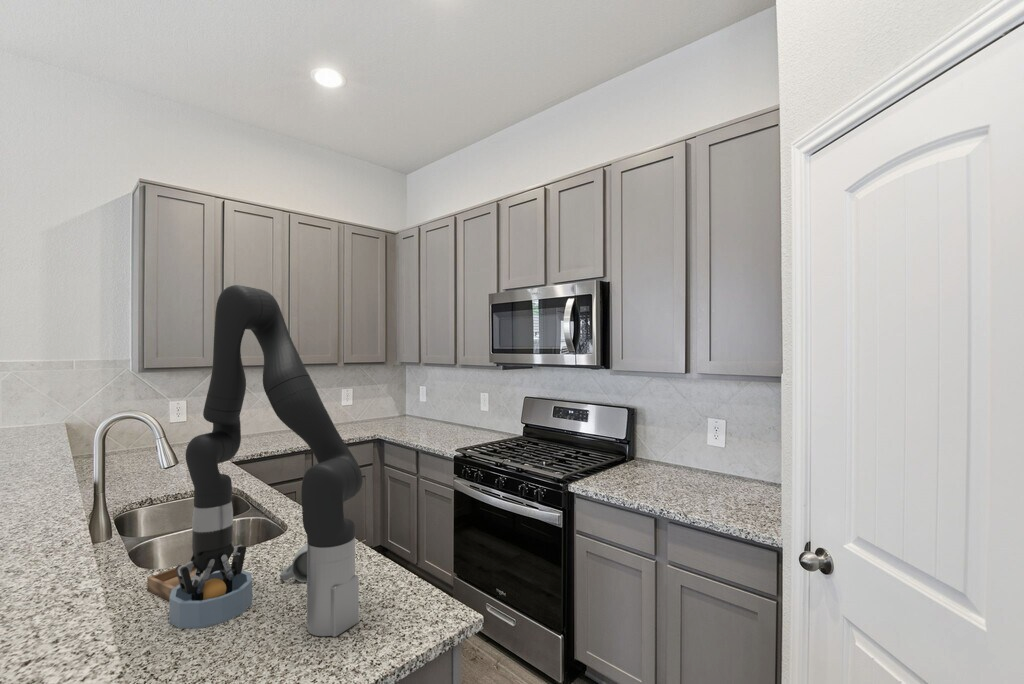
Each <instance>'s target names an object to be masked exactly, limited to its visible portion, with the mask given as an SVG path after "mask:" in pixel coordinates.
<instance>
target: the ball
mask: <svg viewBox="0 0 1024 684" xmlns="http://www.w3.org/2000/svg"><path fill="white" fill-rule="evenodd" d="M202 592H203V600H207V599H211V598H216V597H220V596H223V595H225V594H226V584H225V583H224V581H222V580H221V579H217V578H214V579H210V580H208V581H206V582H205V584H204V587H203V590H202Z"/></svg>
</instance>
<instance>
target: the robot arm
mask: <svg viewBox="0 0 1024 684" xmlns="http://www.w3.org/2000/svg"><path fill="white" fill-rule="evenodd" d="M285 321H286V320H285V318H284V316H283V313H282V310H281V307H280V305H279V303H278V301H277V299H276V298H275V296H274V295H272V294H271V293H270V292H268V291H266V290H264V289H260V288H256V287H251V286H246V285H238V284H234V285H233V284H232V285H229V286H227V287H226V288H225V289H223V291H221V293H220V294H219V296H218V299H217V302H216V307H215V317H214V332H213V333H214V336H213V349H212V350H213V353H212V354H213V355H212V356H213V357H212V369H211V376H210V381H209V385H208V389H207V394H206V398H205V401H204V402H205V403H204V407H203V412H202V413H203V414H202V415H203V418H204V420H205V421H207V422H208V423H211V424H212V432H207V433H204V434H203V433H202V434H198V435H196V436H194V437H193V438H191V440H189V442H188V444H187V447H186V449H185V462H186V466H187V469H188V472H189V476H190V479H191V482H192V485H193V488H194V489H193V513H192V520H191V521H192V524H191V529H192V532H191V533H192V535H191V537H192V538H191V539H192V540H191V544H192V545H191V547H192V556H191V557H190V561H188V562H186V563H185V564H178V565H177V566H176V567H175V568H176V572H177V576H178V580H179V583H180V587H181V591H183V592H185V593H187V594H191V593H192V601H202V600H203V592H202V590H203V587H204V584H205V582H206V581H207V580H208V577H209V574H212V573H213V572H215V571H220V573H221V575H222V577H223V580H222V581H224V583H225V584H226V594H228V593H230V592H232V579H233V578H234V576H236V575H237V574H240V573H241V572H242V570H243V567H244V562H245V557H246V553H247V546H245V545H243V544H235V545H233V541H234V509H233V507H234V506H233V502H232V501H233V496H232V495H233V490H232V489H233V485H232V478H231V476H230V475H228V474H224V473H221V472H220V470H219V469H220V468H219V464H222V463H224V462H228V461H230V460H232V459H233V458H234V457H235V456H236V455H237V453H238V451H239V450H240V446H241V442H242V434H241V433H242V432H241V430H242V429H241V427H242V426H241V412H242V408H243V404H244V399H245V397H246V396H245V395H246V391H247V390H246V389H247V377H246V374H245V370H244V366H243V360H242V354H241V346H242V340H243V337H244V334H245V331H246V330H250V331H251V333H253V335H254V336H255V338H256V340H257V342H258V344H259V347H260V348H261V351H262V354H263V370H262V385H263V390H264V393H265V395H266V396H267V399H268V401H269V404H270V405H271V408H272V410H273V412H274V413H275V415H276V416H277V417H278V419H279V420H280V421H281V422H282V423H283V424H284V425H285V426H286V427H287V428H289V429H290V431H292V432H294V434H296V435H297V436H298V437H299V438H300V439H302V441H304V443H306V445H307V446H308V447H309V449H310V450H311V452H312V453H313V455H314V457H315V460H316V461H317V463H316V464H313V465H312V466H310V467H309V468H308V469H307V470H306V472H305V473H304V475H303V477H302V478H303V479H302V481H301V489H300V490H301V493H300V495H301V511H302V512H301V514H302V527H303V529H304V532H305V535H306V537H307V538H306V541H307V542H306V544H307V583H306V630H307V631H308V633H309V634H311V635H312V636H317V637H328V636H329V637H333V638H336V637H337V636H339V635H341V634H342V633H344V632H345V631H347V630H348V629H350V628H352V627H353V626H355V625H356V624H358V623H359V619H360V618H359V616H360V615H359V612H360V611H359V606H360V605H359V604H360V602H359V601H360V600H359V597H360V596H359V593H360V590H359V587H360V586H359V584H360V583H359V575H357V574H356V525H355V521H353V519H350V518H347V517H346V518H345V515H344V514H345V513H344V511H345V510H344V503H345V502H346V501H348V500H350V499H352V498H353V497H356V496H357V494H359V492H360V491H361V489H362V486H363V473H362V470H361V467H360V465H359V463H358V462H357V459H356V458H355V456H354V455H353V453H352V452H351V450H350V449H349V447H348V446H347V444H346V442H345V441H344V439H342V437H341V435H340V433H339V432H338V430H337V428H336V426H335V424H334V422H333V420H332V418H331V416H330V414H329V412H328V411H327V409H326V407H325V404H324V403H323V400H322V399H321V397H320V394H319V392H318V390H317V388H316V386H315V384H314V382H313V380H312V378H311V376H310V374H309V372H308V370H307V368H306V367H305V365H304V363H303V361H302V358H301V357H300V354H299V352H298V350H297V348H296V345H295V344H294V342H293V340H292V337H291V336H290V332H289V330H288V328H287V324H286V322H285ZM232 555H233V556H232ZM231 557H232V559H231V564H230V561H229V560H230V558H231ZM182 565H183V566H182ZM193 566H194V567H195V568H196V570H195V573H194V576H193V583H192V581H191V577H190V574H191V571H192V570H191V569H192V567H193ZM201 573H202V574H203V575H201Z"/></svg>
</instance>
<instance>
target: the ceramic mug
mask: <svg viewBox="0 0 1024 684" xmlns="http://www.w3.org/2000/svg"><path fill="white" fill-rule="evenodd" d="M279 577H280V579H281V581H288V580H290V579H292V578H293V579H295V580H296V581H297V582H300V583H304V582H307V543H305V544H304V545H303V546H301V548H299V550H298V551H297V553H296V555H295V556H294V559H293V560H292V561H291V564H290V565H288V566H286V567H285V568H284V569H283V570H281V572H280V573H279ZM304 584H305V583H304Z"/></svg>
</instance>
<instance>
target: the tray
mask: <svg viewBox="0 0 1024 684" xmlns="http://www.w3.org/2000/svg"><path fill="white" fill-rule="evenodd" d="M181 565H182V566H183V565H184V564H181ZM191 570H192V571H191V574H190V577H191V578H193V576H194V573H195V570H196V568H195V567H194V566H193V567H192V569H191ZM201 574H202V573H201ZM146 581H147V583H146V584H147V585H146V590H147V592H149V593H151V594H153V595H156V596H158V597H159V598H162V599H164V600H166V601H168V602H169V598H170V594H171V590H172V589H174V588H175V587H177V586H178V585H179V584H180V583H179V580H178V576H177V572H176V567H174V568H170V569H168V570H165V571H162V572H159V573H157V574H154V575H152V576H151V575H150V576H148V577H147V579H146Z"/></svg>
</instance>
